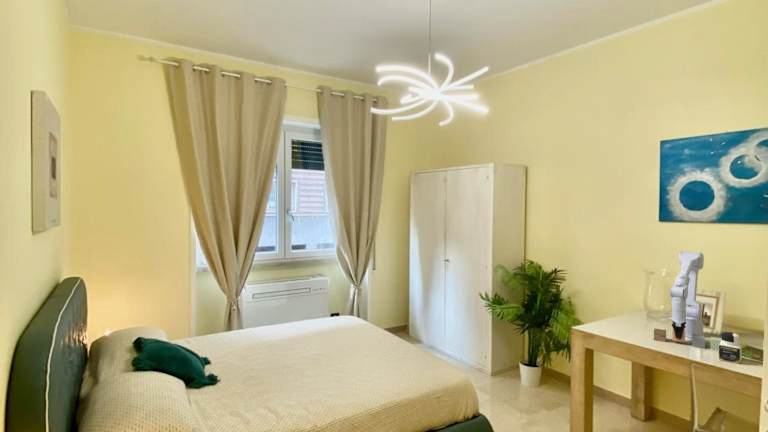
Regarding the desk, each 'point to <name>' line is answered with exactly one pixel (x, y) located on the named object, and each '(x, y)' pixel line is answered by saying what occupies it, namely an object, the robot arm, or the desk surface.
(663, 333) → the walnut cube
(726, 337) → the medicine bottle
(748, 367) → the desk surface
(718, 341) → the sage cube
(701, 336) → the slate cube
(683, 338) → the terracotta cube
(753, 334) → the desk surface
